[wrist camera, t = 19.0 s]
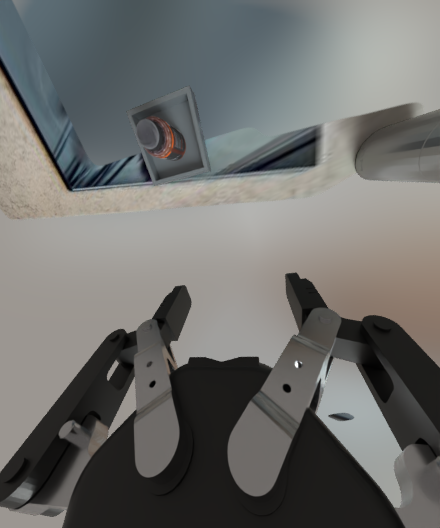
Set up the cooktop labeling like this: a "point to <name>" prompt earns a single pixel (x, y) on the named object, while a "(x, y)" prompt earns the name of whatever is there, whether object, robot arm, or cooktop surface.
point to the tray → (188, 123)
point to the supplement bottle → (160, 138)
